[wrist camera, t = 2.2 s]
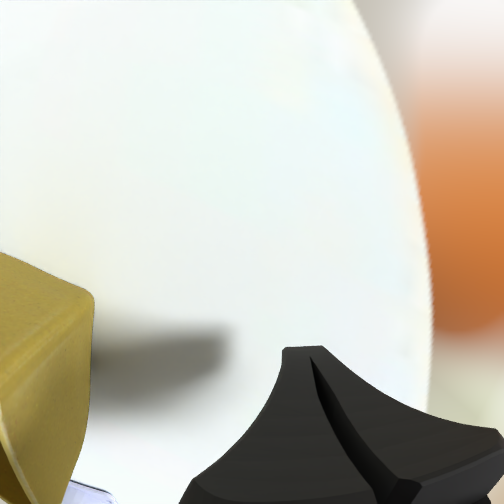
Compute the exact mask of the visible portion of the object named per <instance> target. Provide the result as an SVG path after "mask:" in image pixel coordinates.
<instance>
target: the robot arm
mask: <svg viewBox="0 0 504 504" xmlns="http://www.w3.org/2000/svg"><path fill="white" fill-rule="evenodd" d="M503 475H504V438H503V437H502V435H501V434H500V433H499V432H498V430H496V429H494V428H486V427H479V426H472V425H466V424H460V423H456V422H452V421H449V420H445V419H441V418H438V417H435V416H432V415H429V414H426V413H424V412H421V411H419V410H416V409H414V408H411V407H409V406H407V405H405V404H403V403H401V402H399V401H397V400H395V399H393V398H391V397H389V396H388V395H386V394H384V393H382V392H381V391H379V390H377V389H376V388H375V387H373V386H372V385H370V384H369V383H367V382H366V381H364V380H363V379H362V378H360V377H359V376H358V375H356V374H355V373H354V372H352V371H351V370H350V369H349V368H347V367H346V366H345V365H344V364H343V363H342V362H340V361H339V360H338V359H337V358H336V357H335V356H334V355H332V354H331V353H330V352H329V351H328V350H327V349H326V348H325V347H323V346H303V347H285V348H284V349H283V350H282V365H281V369H280V372H279V375H278V378H277V381H276V383H275V386H274V388H273V390H272V392H271V394H270V396H269V398H268V400H267V402H266V404H265V405H264V407H263V409H262V410H261V412H260V413H259V415H258V416H257V418H256V419H255V421H254V422H253V423H252V424H251V426H250V427H249V428H248V430H247V431H246V432H245V433H244V435H243V436H242V437H241V438H240V439H239V440H238V441H237V442H236V443H235V444H234V445H233V446H232V447H231V448H230V449H229V450H228V451H227V452H226V453H225V454H224V455H223V456H222V457H221V458H220V459H218V460H217V461H216V462H215V463H213V464H212V465H211V466H209V467H208V468H207V469H206V470H204V471H203V472H202V473H200V474H199V475H197V476H196V477H195V478H193V479H192V480H191V482H190V484H189V485H188V487H187V489H186V491H185V492H184V494H183V496H182V498H181V500H180V502H179V504H491V501H490V500H489V498H488V496H487V494H488V493H489V492H490V491H491V489H492V488H493V487H494V486H495V485H496V483H497V482H498V481H499V480H500V478H501V477H502V476H503ZM61 504H118V503H117V502H116V500H115V499H114V497H113V496H112V495H111V494H109V493H106V492H103V491H99V490H96V489H92V488H89V487H86V486H83V485H80V484H77V483H74V482H71V481H69V484H68V486H67V489H66V492H65V495H64V498H63V500H62V503H61Z"/></svg>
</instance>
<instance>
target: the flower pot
mask: <svg viewBox="0 0 504 504" xmlns="http://www.w3.org/2000/svg"><path fill="white" fill-rule="evenodd" d="M93 316H94V298H93V296H92V295H91V293H90V292H88V291H87V290H85V289H83V288H80V287H78V286H75V285H73V284H70V283H68V282H66V281H64V280H61V279H59V278H57V277H55V276H52V275H50V274H48V273H46V272H44V271H42V270H40V269H38V268H36V267H33V266H31V265H30V264H28V263H25V262H23V261H21V260H19V259H16V258H14V257H11V256H9V255H6V254H3V253H0V498H1V499H2V500H3V501H5V502H6V503H8V504H61V503H62V500H63V498H64V495H65V492H66V489H67V486H68V484H69V481H70V478H71V476H72V473H73V470H74V467H75V465H76V462H77V460H78V457H79V454H80V451H81V449H82V445H83V441H84V437H85V432H86V426H87V420H88V412H89V400H90V362H91V341H92V327H93Z"/></svg>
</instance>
